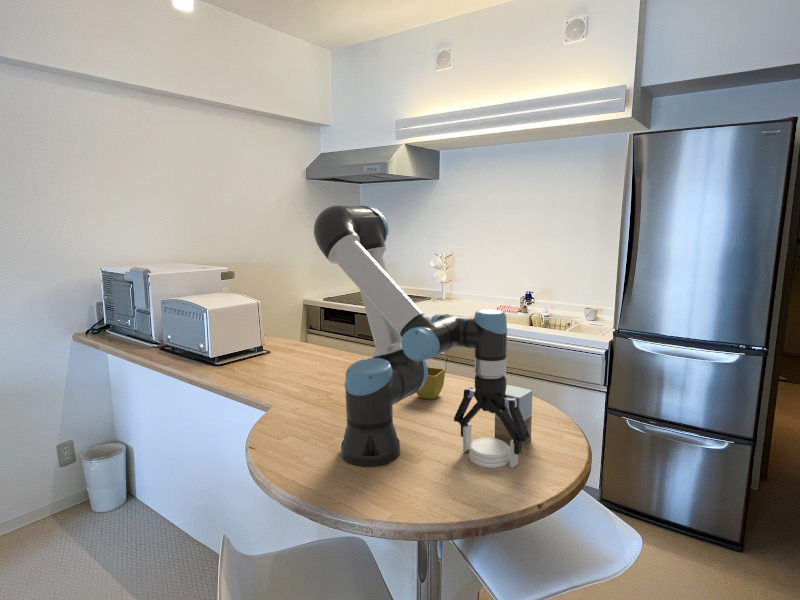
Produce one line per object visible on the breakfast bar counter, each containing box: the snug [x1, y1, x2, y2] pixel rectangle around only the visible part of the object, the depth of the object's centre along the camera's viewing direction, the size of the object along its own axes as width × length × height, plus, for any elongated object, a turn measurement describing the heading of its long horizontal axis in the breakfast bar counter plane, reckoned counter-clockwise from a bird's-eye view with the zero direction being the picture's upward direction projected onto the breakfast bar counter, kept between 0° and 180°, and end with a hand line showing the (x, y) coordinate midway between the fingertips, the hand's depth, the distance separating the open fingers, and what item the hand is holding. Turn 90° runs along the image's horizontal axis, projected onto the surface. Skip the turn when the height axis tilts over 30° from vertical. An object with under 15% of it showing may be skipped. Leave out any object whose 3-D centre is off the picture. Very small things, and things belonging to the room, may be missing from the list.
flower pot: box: [415, 366, 446, 400], centre depth 162 cm, size 9×9×9 cm
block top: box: [494, 384, 533, 421], centre depth 127 cm, size 7×7×7 cm
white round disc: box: [468, 437, 510, 469], centre depth 120 cm, size 10×10×4 cm
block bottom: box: [494, 415, 533, 448], centre depth 128 cm, size 7×7×7 cm
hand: (489, 457), depth 120 cm, fingers open, 12 cm apart
